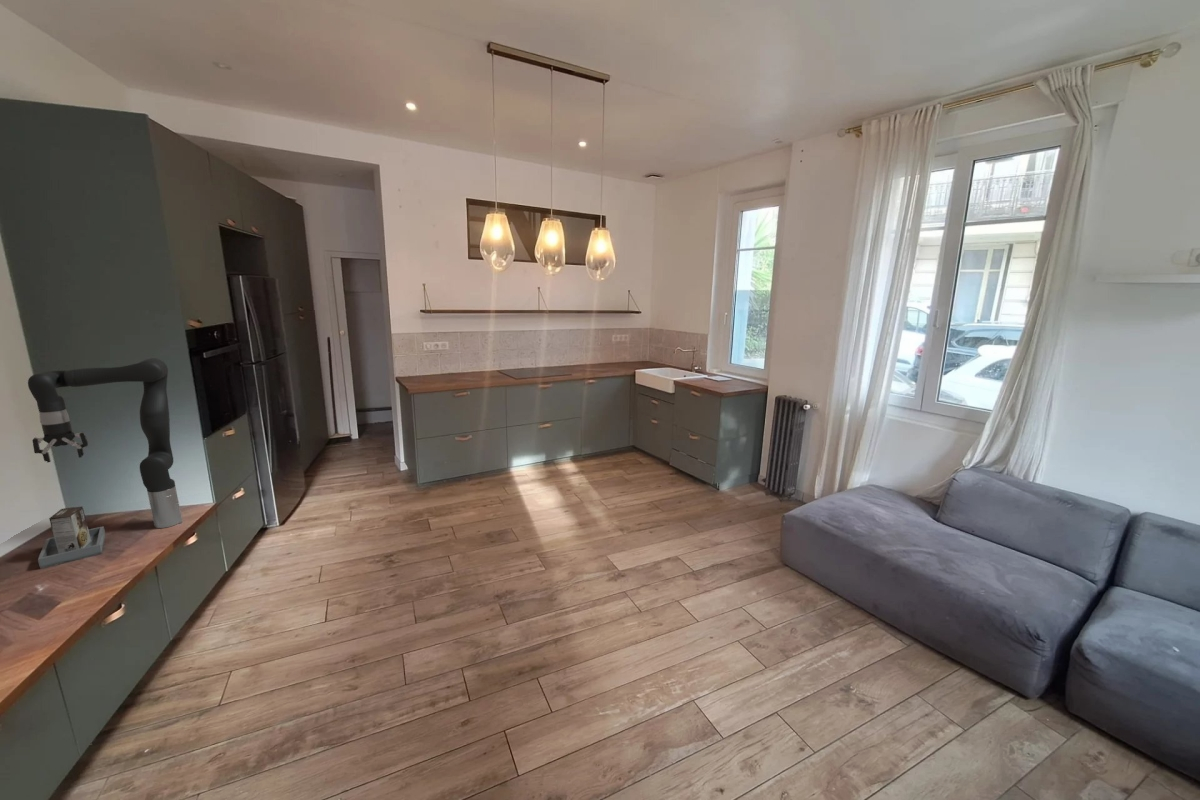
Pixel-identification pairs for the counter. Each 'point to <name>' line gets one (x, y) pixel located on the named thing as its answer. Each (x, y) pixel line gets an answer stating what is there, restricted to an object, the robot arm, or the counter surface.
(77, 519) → the coffee box
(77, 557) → the box
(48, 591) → the counter surface
